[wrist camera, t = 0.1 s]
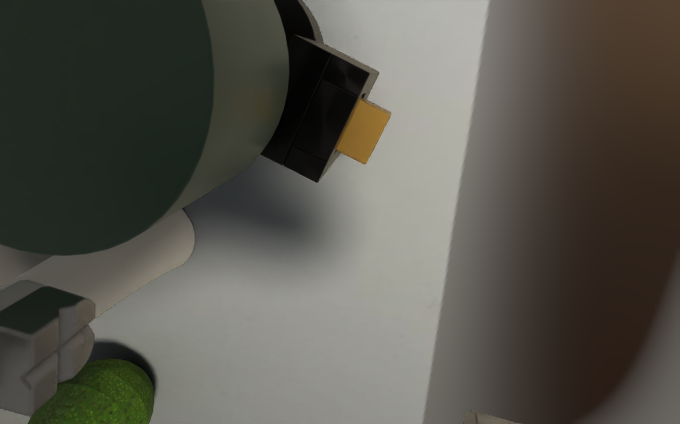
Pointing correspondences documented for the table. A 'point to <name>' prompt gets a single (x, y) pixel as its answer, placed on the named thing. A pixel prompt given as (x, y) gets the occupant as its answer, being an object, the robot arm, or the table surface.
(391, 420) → the table surface
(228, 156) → the desk lamp
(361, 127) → the lamp switch
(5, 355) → the robot arm
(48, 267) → the cosmetic bottle
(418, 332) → the table surface
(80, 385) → the fruit
